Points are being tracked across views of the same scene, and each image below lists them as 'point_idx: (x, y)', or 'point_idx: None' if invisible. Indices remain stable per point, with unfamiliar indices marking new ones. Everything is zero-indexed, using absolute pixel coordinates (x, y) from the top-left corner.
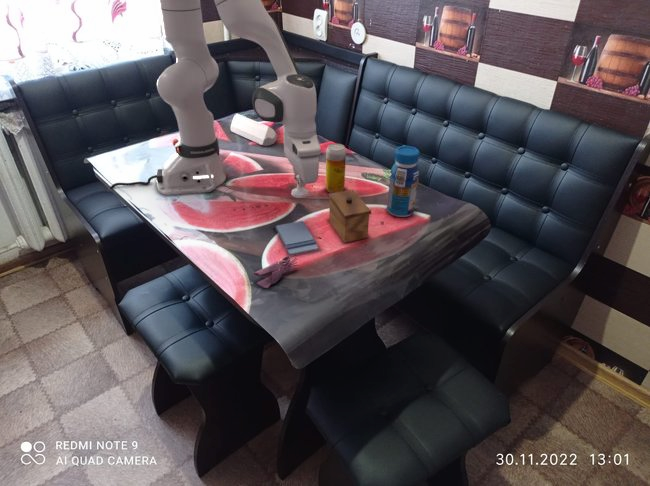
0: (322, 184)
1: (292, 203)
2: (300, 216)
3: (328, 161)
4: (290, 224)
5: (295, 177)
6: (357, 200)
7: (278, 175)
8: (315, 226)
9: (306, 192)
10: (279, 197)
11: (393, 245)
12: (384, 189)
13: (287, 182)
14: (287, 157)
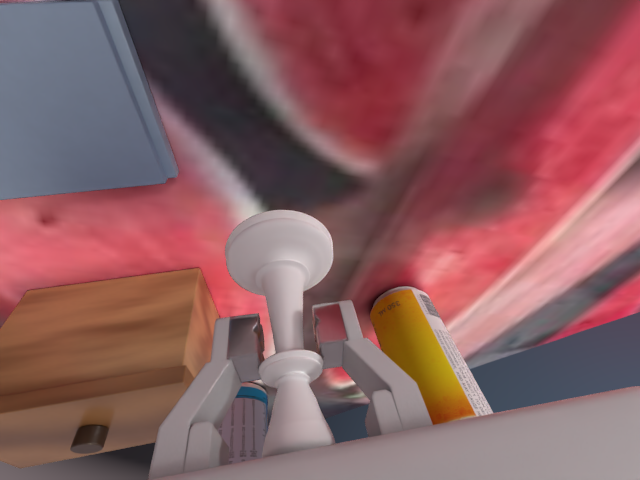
0: (447, 278)
1: (375, 162)
2: (251, 175)
3: (446, 409)
4: (118, 111)
5: (326, 327)
6: (113, 443)
7: (625, 150)
8: (154, 218)
9: (256, 292)
10: (457, 113)
11: None
12: (342, 380)
13: (546, 175)
14: (560, 440)
